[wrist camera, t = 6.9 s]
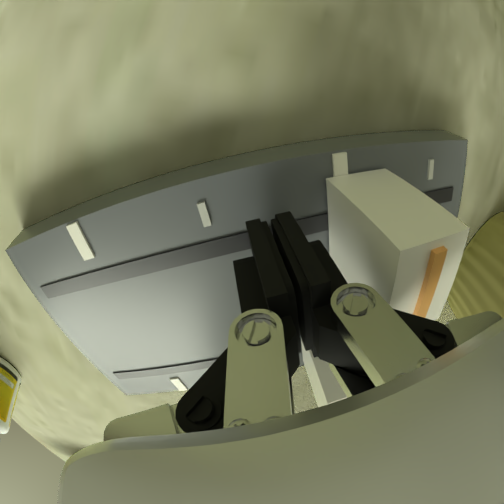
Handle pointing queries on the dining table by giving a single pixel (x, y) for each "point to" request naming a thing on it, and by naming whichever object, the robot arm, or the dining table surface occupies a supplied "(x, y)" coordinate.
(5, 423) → the supplement bottle
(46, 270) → the console
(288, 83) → the dining table surface
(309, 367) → the fader
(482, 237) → the potted cactus
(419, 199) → the block
